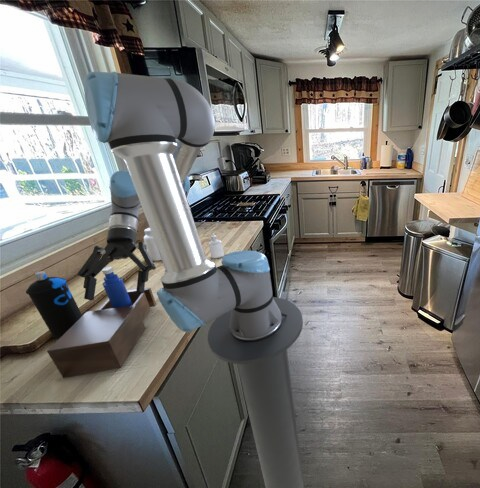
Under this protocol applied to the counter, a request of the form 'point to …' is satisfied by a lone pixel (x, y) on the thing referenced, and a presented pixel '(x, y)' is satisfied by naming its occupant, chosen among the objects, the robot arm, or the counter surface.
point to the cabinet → (98, 341)
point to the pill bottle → (151, 245)
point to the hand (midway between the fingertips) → (115, 296)
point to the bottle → (115, 289)
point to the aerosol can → (54, 303)
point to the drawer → (137, 301)
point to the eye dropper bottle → (215, 247)
